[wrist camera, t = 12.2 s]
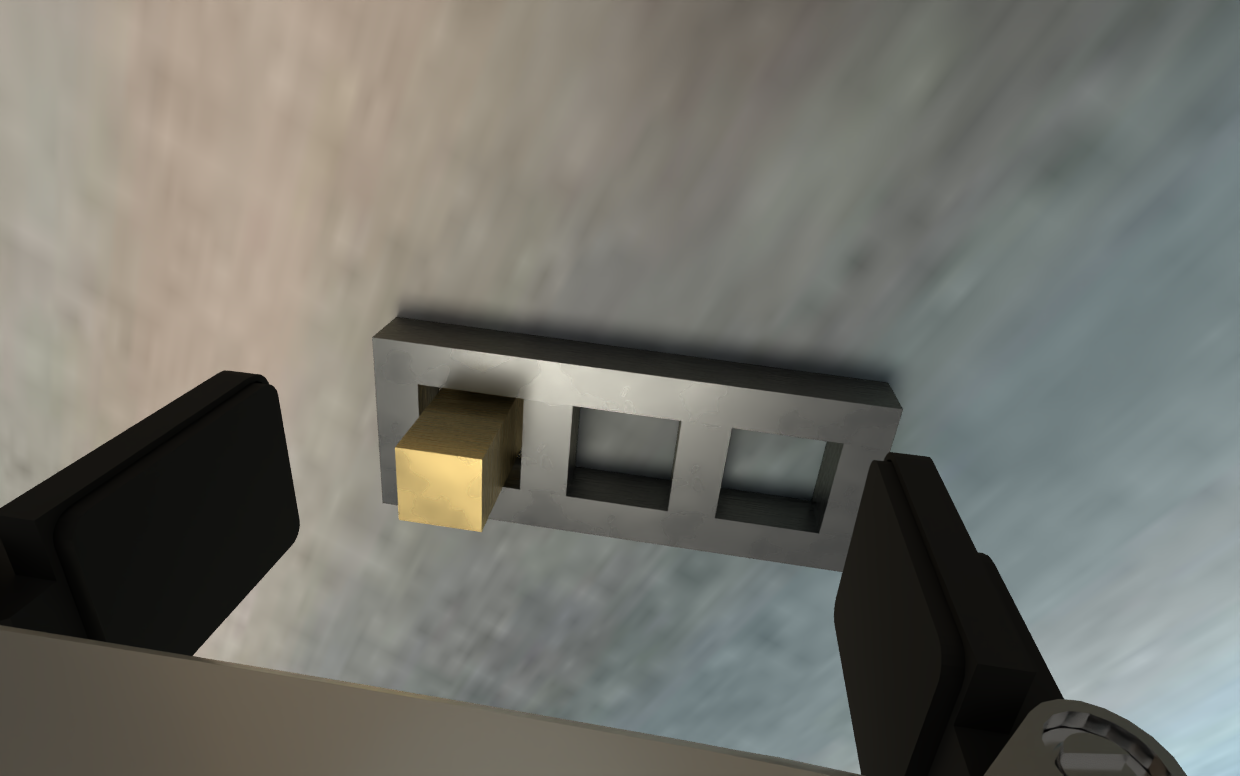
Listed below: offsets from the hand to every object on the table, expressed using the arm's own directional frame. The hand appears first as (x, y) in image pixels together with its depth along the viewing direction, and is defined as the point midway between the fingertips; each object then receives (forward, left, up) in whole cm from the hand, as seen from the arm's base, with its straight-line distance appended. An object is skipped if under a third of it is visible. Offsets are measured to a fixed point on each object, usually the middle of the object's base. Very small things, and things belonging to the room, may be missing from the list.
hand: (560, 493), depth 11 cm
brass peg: (+8, +13, -25) cm, 29 cm away
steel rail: (0, +13, -25) cm, 28 cm away
